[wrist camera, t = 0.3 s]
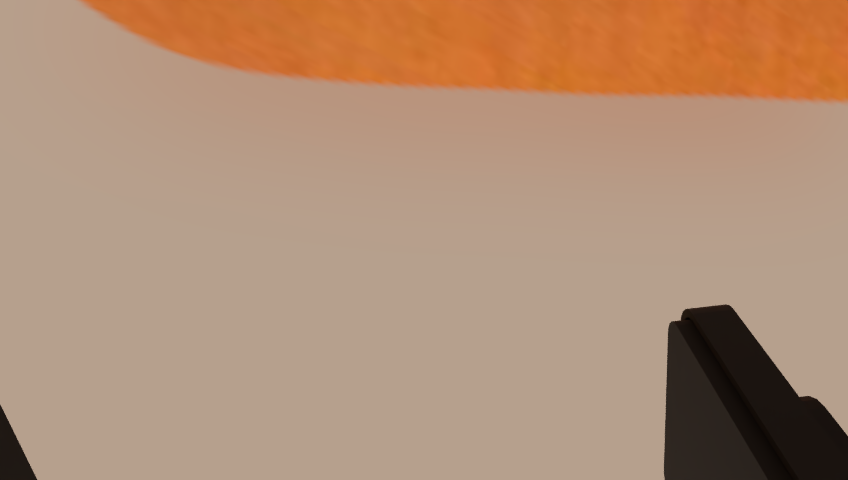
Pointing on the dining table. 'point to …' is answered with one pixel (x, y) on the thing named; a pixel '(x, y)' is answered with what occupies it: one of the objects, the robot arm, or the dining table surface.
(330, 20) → the dining table surface
